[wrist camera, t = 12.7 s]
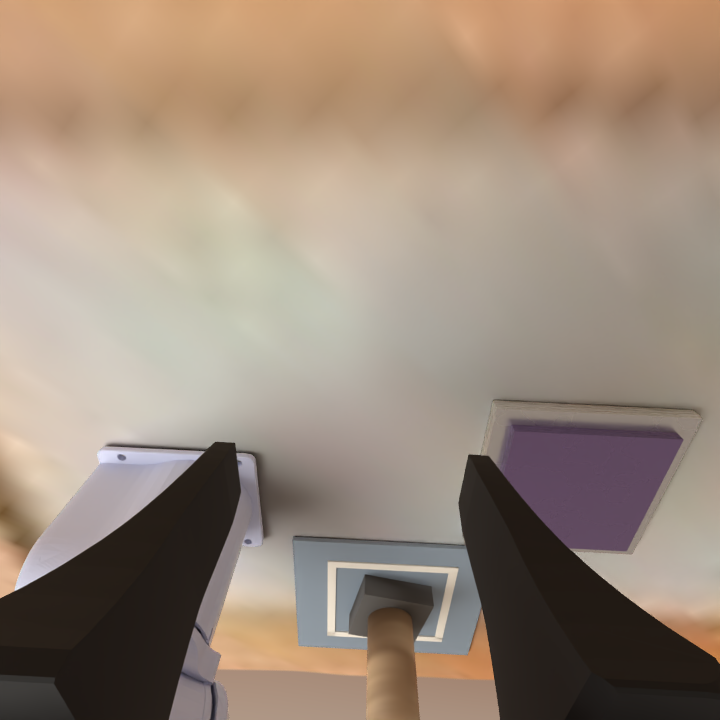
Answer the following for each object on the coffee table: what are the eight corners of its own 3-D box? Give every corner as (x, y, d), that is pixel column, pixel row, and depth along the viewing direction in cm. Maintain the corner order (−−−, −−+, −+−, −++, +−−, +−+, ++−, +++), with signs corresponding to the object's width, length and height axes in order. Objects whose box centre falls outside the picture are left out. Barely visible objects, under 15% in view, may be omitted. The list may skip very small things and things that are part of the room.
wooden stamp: (349, 613, 33) (343, 735, 26) (364, 574, 31) (362, 696, 24) (411, 624, 33) (420, 746, 27) (431, 586, 31) (446, 709, 24)
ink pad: (462, 535, 29) (466, 553, 28) (493, 400, 24) (499, 415, 22) (625, 543, 29) (636, 562, 27) (693, 409, 23) (710, 425, 22)
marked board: (299, 642, 36) (298, 647, 35) (293, 536, 29) (292, 541, 29) (466, 651, 36) (467, 656, 35) (496, 547, 29) (498, 552, 29)
